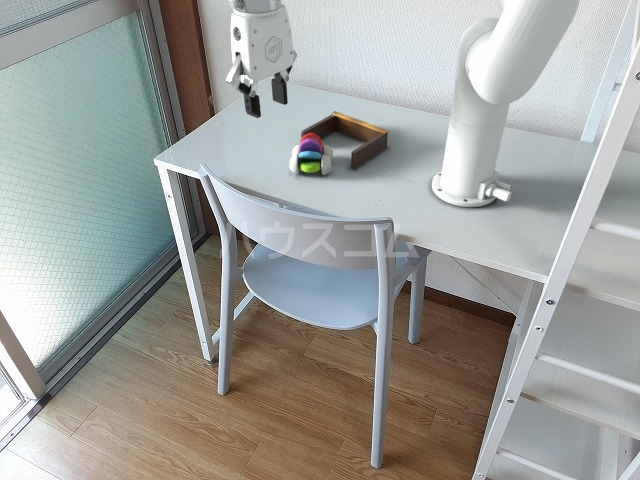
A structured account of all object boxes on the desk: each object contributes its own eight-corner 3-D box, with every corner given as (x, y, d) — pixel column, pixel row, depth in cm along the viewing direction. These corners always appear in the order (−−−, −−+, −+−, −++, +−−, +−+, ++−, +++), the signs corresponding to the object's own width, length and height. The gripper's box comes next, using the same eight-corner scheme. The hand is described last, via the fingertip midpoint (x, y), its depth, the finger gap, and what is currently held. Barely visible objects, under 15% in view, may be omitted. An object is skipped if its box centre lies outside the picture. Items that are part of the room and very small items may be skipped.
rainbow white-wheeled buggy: (333, 156, 112) (333, 126, 107) (330, 181, 104) (329, 149, 100) (294, 155, 113) (293, 124, 108) (288, 179, 105) (286, 148, 101)
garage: (387, 148, 114) (388, 130, 111) (354, 170, 108) (355, 151, 105) (335, 128, 122) (335, 110, 119) (301, 147, 115) (300, 129, 112)
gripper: (231, 18, 73) (245, 133, 84) (312, -9, 83) (315, 98, 94) (197, 8, 77) (215, 120, 88) (279, -16, 87) (285, 87, 98)
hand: (267, 107), depth 91 cm, fingers open, 5 cm apart
